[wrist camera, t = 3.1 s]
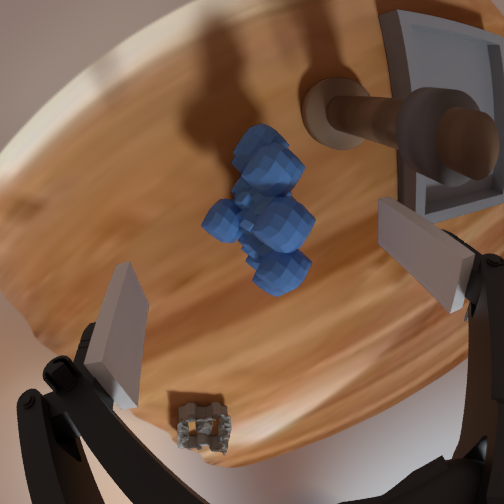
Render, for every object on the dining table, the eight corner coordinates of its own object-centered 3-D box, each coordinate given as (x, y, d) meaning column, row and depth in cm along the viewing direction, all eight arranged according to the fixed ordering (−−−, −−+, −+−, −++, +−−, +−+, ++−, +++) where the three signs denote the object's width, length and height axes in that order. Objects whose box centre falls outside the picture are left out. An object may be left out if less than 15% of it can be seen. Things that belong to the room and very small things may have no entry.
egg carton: (223, 435, 43) (226, 456, 39) (176, 434, 41) (177, 456, 37) (233, 400, 38) (237, 425, 34) (176, 398, 36) (177, 424, 33)
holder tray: (484, 36, 20) (503, 37, 17) (490, 193, 29) (506, 201, 27) (378, 15, 19) (397, 9, 16) (397, 216, 29) (414, 228, 26)
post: (361, 76, 22) (513, 83, 8) (369, 142, 24) (510, 201, 11) (295, 81, 21) (427, 70, 8) (307, 152, 24) (430, 225, 11)
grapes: (187, 126, 22) (176, 149, 11) (274, 114, 22) (340, 128, 12) (211, 258, 27) (223, 359, 17) (285, 245, 28) (336, 334, 17)
